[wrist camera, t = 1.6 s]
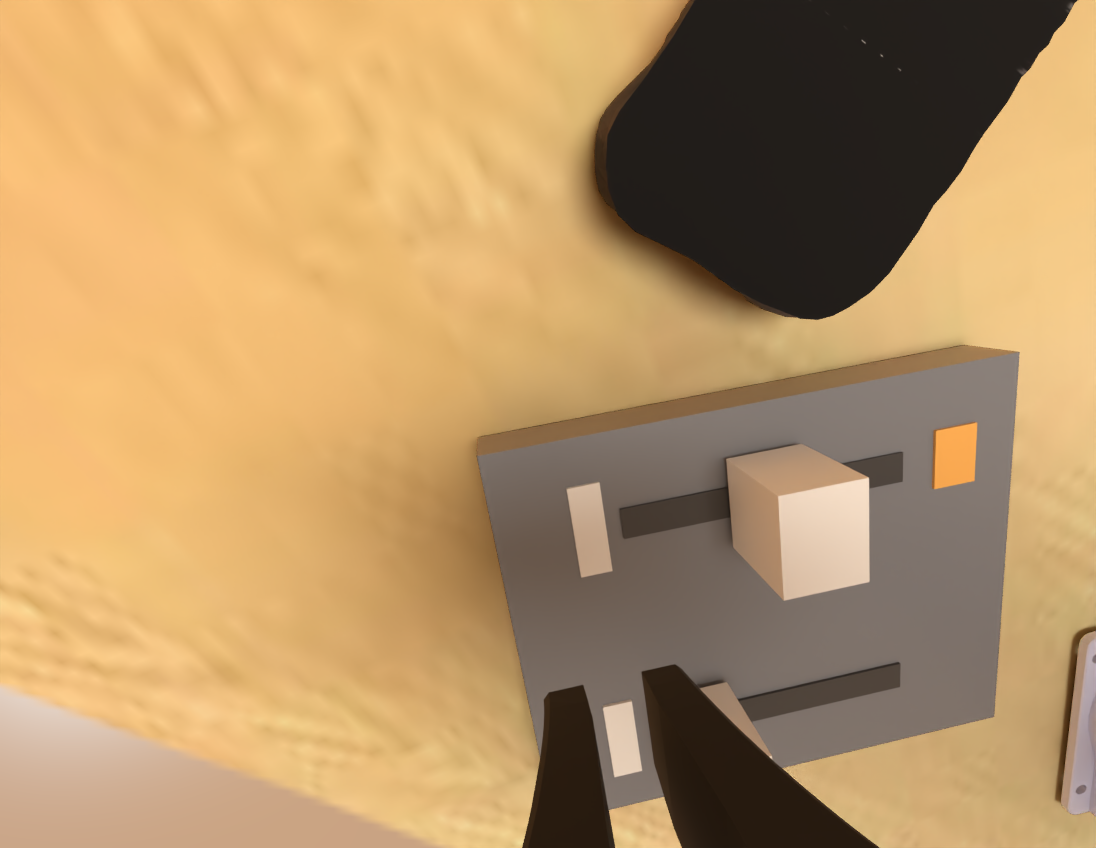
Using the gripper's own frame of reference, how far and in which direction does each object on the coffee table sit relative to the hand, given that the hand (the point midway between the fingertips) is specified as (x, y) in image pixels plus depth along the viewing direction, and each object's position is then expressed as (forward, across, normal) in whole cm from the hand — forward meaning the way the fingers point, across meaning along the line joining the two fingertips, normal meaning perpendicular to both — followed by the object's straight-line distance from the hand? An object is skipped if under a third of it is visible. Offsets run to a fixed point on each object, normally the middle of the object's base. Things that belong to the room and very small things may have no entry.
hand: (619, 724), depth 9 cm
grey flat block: (+9, -6, +4) cm, 12 cm away
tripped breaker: (+7, -7, 0) cm, 10 cm away
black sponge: (+10, -10, -13) cm, 19 cm away
